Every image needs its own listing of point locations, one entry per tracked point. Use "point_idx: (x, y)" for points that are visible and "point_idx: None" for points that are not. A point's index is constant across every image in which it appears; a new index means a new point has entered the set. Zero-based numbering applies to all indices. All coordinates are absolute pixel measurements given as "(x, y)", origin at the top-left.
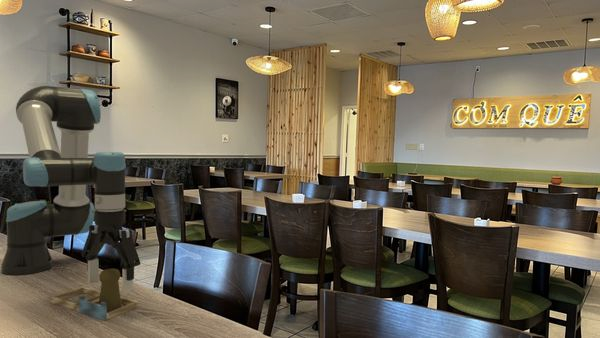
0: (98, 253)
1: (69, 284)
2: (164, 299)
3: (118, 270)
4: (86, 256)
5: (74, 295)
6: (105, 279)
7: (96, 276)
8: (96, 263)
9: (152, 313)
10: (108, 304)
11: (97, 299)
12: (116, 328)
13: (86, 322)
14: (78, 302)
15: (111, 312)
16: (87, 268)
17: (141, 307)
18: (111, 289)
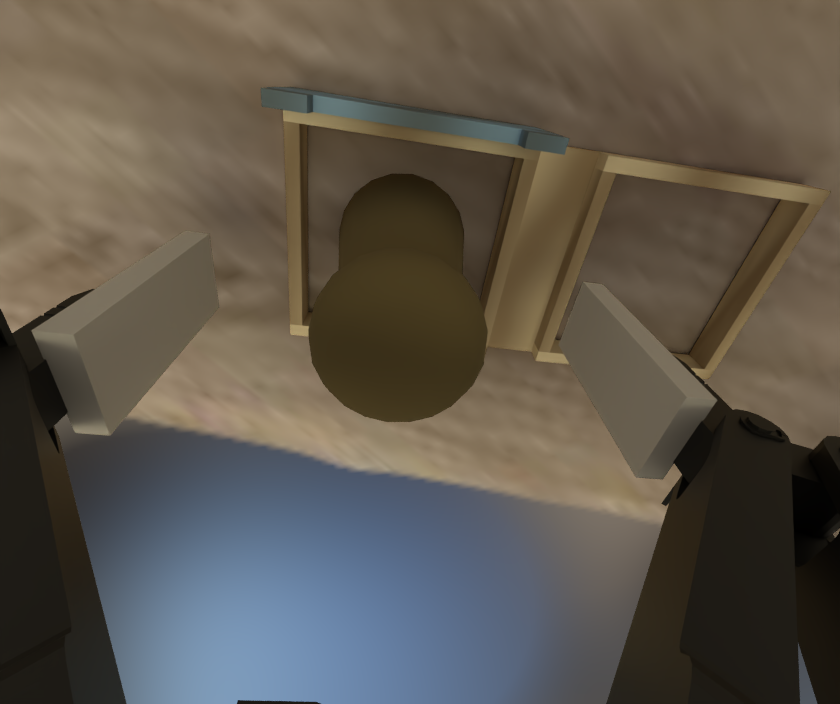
0: (662, 529)
1: (814, 404)
2: (269, 424)
3: (347, 406)
4: (782, 441)
5: (713, 313)
6: (365, 257)
7: (579, 354)
8: (626, 428)
9: None
10: (362, 206)
11: (545, 302)
12: (121, 9)
13: (375, 8)
14: (599, 194)
15: (285, 146)
16: (685, 364)
17: (279, 321)
18: (347, 259)
